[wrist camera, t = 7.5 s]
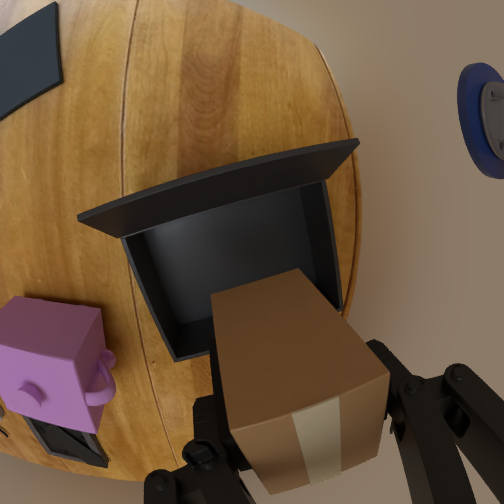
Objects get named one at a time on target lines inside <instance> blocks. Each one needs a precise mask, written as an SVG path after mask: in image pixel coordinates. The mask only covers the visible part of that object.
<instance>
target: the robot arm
mask: <svg viewBox="0 0 504 504" xmlns="http://www.w3.org/2000/svg"><path fill="white" fill-rule="evenodd" d="M478 108H479V118H480V123H481V128H482V132H483V135H484V138H485V141H486V143H487V145H488V147H489V149H490V151H491V152H492V154H493V155H494V156H495V157H496V158H498V159H502V160H504V84H503V83H500V82H494V81H492V82H485V83H484V84H483V85H482V87H481V89H480V92H479V100H478ZM208 343H209V354H210V365H211V375H212V384H213V393H214V394H213V395H209V396H204V397H200V398H197V399H196V401H195V403H194V405H193V424H194V425H193V426H194V439H193V440H191V441H190V442H188V443H187V444H186V445H185V446H184V448H183V451H182V458H183V459H184V460H185V461H186V462H187V463H188V464H187V465H185V466H184V467H182V468H179V469H177V470H175V471H172V472H169V471H167V470H164V469H158V470H154V471H152V472H151V473H149V474H148V476H147V477H146V478H145V482H144V504H256V503H255V501H254V499H253V498H252V496H251V494H250V493H249V491H248V489H247V488H246V486H245V484H244V483H243V481H242V479H241V478H240V477H239V472H238V469H239V470H240V471H245V470H249V469H253V468H252V467H251V465H250V464H249V462H248V461H247V459H246V457H245V456H244V454H243V452H242V451H241V449H240V448H239V446H238V444H237V443H236V441H235V439H234V437H233V436H232V434H231V432H230V430H229V424H228V418H227V412H226V406H225V400H224V393H223V387H222V380H221V373H220V366H219V359H218V352H217V344H216V337H214V338H210V339H208ZM365 344H366V345H367V346H368V347H369V348H370V349H371V350H372V352H373V353H374V354H375V355H376V356H377V357H378V359H379V360H380V361H381V362H382V363H383V364H384V366H385V367H386V368H387V369H388V370H389V371H390V381H389V389H388V397H387V404H386V411H385V417H384V420H386V419H387V414H388V413H389V415H390V416H391V417H392V422H391V427H390V434H392V433H393V431H394V435H395V438H396V441H397V445H398V448H399V452H400V455H401V459H402V463H403V466H404V470H405V474H406V478H407V482H408V486H409V490H410V495H411V499H412V504H476V500H475V497H474V494H473V491H472V488H471V485H470V482H469V479H468V476H467V473H466V470H465V468H464V465H463V462H462V460H461V457H460V454H459V452H458V449H457V447H456V445H457V446H458V447H459V449H460V450H461V451H462V453H463V454H464V455H465V456H466V458H467V459H468V460H469V461H470V463H471V464H472V466H473V467H474V468H475V469H476V471H477V472H478V474H479V475H480V476H481V477H482V479H483V480H484V482H485V483H486V484H487V486H488V487H489V488H490V490H491V491H492V492H493V494H494V495H495V496H496V498H497V499H498V501H499V502H500V504H504V401H503V400H502V399H501V398H500V397H499V396H498V395H497V394H496V393H495V392H494V391H493V390H492V389H491V388H490V387H489V386H488V385H487V384H486V383H485V382H484V381H483V380H482V379H481V378H480V377H478V375H476V374H475V373H474V372H473V371H472V370H471V369H470V368H469V367H468V366H466V365H464V364H460V363H457V364H452V365H450V366H449V367H447V368H446V370H445V372H444V375H441V376H437V377H433V378H429V379H424V378H422V377H420V376H416V375H412V374H411V373H410V372H409V371H408V370H407V369H406V368H405V366H404V365H403V364H402V363H401V362H400V361H399V360H398V359H397V358H396V357H395V356H394V355H393V354H392V352H391V351H389V349H388V348H387V347H386V346H385V345H384V344H383V343H382V342H379V341H377V340H375V339H373V340H370V341H368V342H366V343H365Z"/></svg>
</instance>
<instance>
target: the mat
mask: <svg viewBox="0 0 504 504" xmlns="http://www.w3.org/2000/svg"><path fill="white" fill-rule="evenodd" d="M61 83H63V77H62V69H61V59H60V47H59V29H58V4H57V3H56V1H55V2H53V3H51V4H49V5H47V6H45V7H44V8H42V9H40V10H39V11H37V12H35V13H34V14H32V15H30V16H29V17H27V18H25V19H24V20H22V21H21V22H19V23H18V24H16V25H15V26H13V27H12V28H11V29H9V30H8V31H6V32H5V33H3V34H2V35H1V36H0V121H1V120H2V119H4V118H5V117H7V116H8V115H9V114H11V113H12V112H14V111H15V110H17V109H18V108H20V107H22V106H23V105H25V104H26V103H28V102H30V101H31V100H33V99H34V98H36V97H38V96H40V95H41V94H43V93H45V92H47V91H48V90H50V89H52V88H54V87H56V86H58V85H59V84H61Z"/></svg>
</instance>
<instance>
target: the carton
mask: <svg viewBox="0 0 504 504" xmlns="http://www.w3.org/2000/svg"><path fill="white" fill-rule="evenodd" d="M120 239H121V241H122V244H123V247H124V250H125V252H126V255H127V258H128V260H129V263H130V265H131V268H132V271H133V273H134V276H135V278H136V280H137V283H138V285H139V288H140V290H141V292H142V295H143V297H144V299H145V302H146V304H147V306H148V309H149V311H150V313H151V315H152V317H153V320H154V322H155V324H156V326H157V328H158V330H159V332H160V334H161V336H162V339H163V341H164V343H165V345H166V347H167V349H168V351H169V353H170V355H171V357H172V359H173V360H174V362H179V361H183V360H187V359H191V358H195V357H199V356H203V355H207V354H209V343H208V339H210V338H214V337H215V329H214V321H213V313H212V304H211V294H214V293H217V292H221V291H224V290H228V289H231V288H234V287H238V286H241V285H245V284H248V283H251V282H255V281H258V280H261V279H264V278H268V277H271V276H274V275H277V274H281V273H284V272H287V271H290V270H294V269H297V268H299V269H300V270H301V271H302V273H303V274H304V275H305V276H306V277H307V278H308V279H309V280H310V281H311V282H312V284H313V285H314V286H315V287H316V288H317V289H318V290H319V291H320V293H321V294H322V295H323V296H324V297H325V298H326V299H327V300H328V301H329V303H330V304H331V305H332V306H333V307H334V308H335V309H336V310H337V312H340V311H342V310H344V308H343V298H342V288H341V279H340V271H339V263H338V255H337V248H336V241H335V234H334V227H333V221H332V215H331V209H330V203H329V197H328V191H327V186H326V181H325V179H324V180H320V181H316V182H312V183H308V184H303V185H299V186H295V187H291V188H287V189H283V190H279V191H275V192H271V193H268V194H264V195H260V196H256V197H253V198H249V199H245V200H241V201H238V202H234V203H231V204H227V205H224V206H220V207H217V208H213V209H210V210H206V211H203V212H199V213H196V214H193V215H189V216H186V217H183V218H179V219H176V220H173V221H170V222H167V223H163V224H160V225H157V226H154V227H151V228H148V229H145V230H142V231H139V232H136V233H133V234H130V235H127V236H124V237H121V238H120Z"/></svg>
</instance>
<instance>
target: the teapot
mask: <svg viewBox="0 0 504 504" xmlns="http://www.w3.org/2000/svg"><path fill="white" fill-rule="evenodd" d="M115 363H116V358H115V355H114V353H113V352H112V351H110V350H107V349H106V344H105V337H104V330H103V322H102V314H101V308H94V307H87V306H85V305H71V304H64V303H57V302H51V301H44V300H42V299H40V298H38V299H32V298H26V297H20V296H14V297H13V298H12V299H11V300H10V301H9V302H8V303H7V304H6V305H5V306H4V307H3V308H2V309H1V310H0V395H1V397H2V399H3V401H4V403H5V405H6V407H7V409H9V410H11V411H14V412H16V413H19V414H22V415H25V416H28V417H31V418H34V419H37V420H40V421H43V422H47V423H50V424H54V425H58V426H61V427H65V428H69V429H74V430H78V431H83V432H88V433H93V434H97V433H98V429H99V425H100V421H101V417H102V413H103V409H104V405H105V404H106V403H108V402H109V401H111V400H112V399H113V397H114V396H115V393H116V384H115V381H114V378H113V376H112V374H111V373H110V368H113V367H114V365H115Z"/></svg>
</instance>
